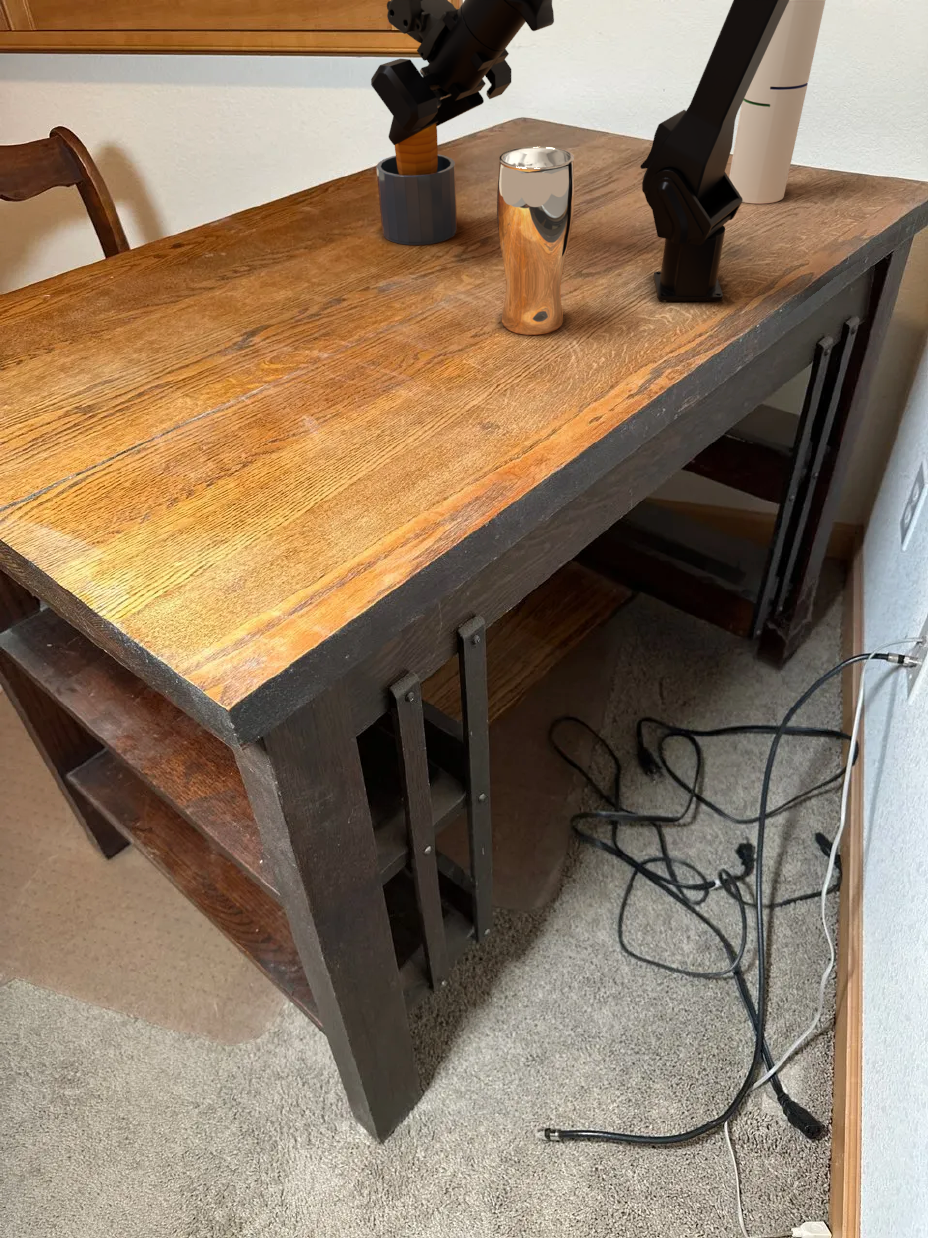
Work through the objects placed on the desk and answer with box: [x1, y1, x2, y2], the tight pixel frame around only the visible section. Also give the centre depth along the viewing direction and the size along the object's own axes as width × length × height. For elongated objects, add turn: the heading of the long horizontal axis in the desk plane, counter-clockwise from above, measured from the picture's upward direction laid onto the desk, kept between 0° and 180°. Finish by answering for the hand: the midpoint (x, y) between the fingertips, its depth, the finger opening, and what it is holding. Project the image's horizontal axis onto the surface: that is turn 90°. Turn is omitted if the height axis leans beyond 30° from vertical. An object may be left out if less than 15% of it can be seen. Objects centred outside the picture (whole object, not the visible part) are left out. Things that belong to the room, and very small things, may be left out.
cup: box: [376, 153, 458, 246], centre depth 103 cm, size 9×9×8 cm
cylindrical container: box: [728, 0, 826, 205], centre depth 103 cm, size 7×7×25 cm
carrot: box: [394, 124, 439, 175], centre depth 99 cm, size 5×5×15 cm
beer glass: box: [496, 145, 575, 336], centre depth 81 cm, size 7×7×15 cm
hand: (405, 135), depth 99 cm, fingers closed on carrot, 5 cm apart
